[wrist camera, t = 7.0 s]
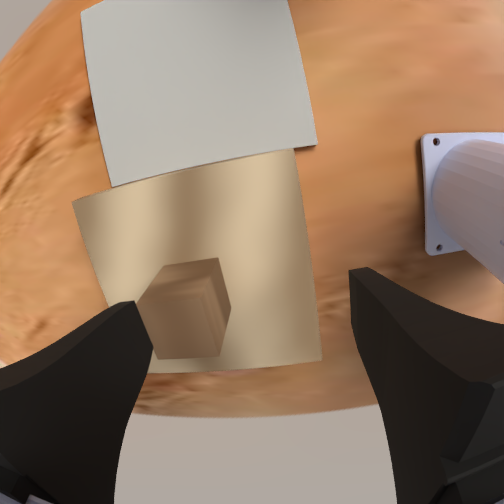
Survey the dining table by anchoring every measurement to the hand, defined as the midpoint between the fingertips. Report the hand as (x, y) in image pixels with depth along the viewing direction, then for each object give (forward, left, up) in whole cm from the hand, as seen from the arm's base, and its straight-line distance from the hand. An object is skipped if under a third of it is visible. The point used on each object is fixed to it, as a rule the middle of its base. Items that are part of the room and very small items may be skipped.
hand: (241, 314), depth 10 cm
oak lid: (+3, +2, -7) cm, 8 cm away
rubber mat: (+2, -10, -10) cm, 15 cm away
